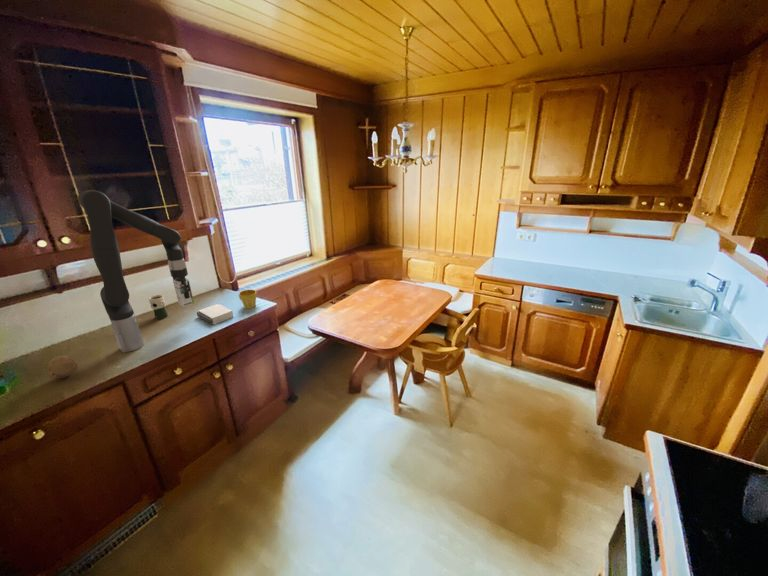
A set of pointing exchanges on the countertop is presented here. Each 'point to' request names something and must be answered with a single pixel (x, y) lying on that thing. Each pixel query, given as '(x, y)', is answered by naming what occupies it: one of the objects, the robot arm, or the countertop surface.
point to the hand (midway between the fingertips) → (184, 296)
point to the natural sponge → (61, 367)
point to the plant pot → (248, 298)
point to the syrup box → (182, 294)
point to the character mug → (158, 306)
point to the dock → (215, 314)
